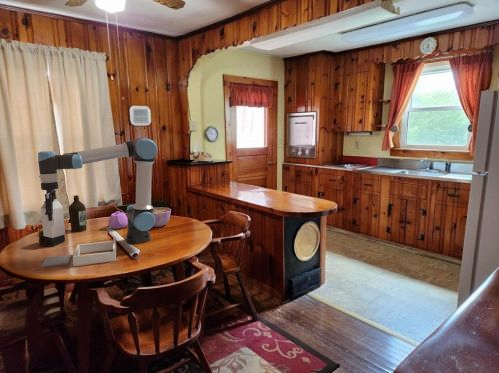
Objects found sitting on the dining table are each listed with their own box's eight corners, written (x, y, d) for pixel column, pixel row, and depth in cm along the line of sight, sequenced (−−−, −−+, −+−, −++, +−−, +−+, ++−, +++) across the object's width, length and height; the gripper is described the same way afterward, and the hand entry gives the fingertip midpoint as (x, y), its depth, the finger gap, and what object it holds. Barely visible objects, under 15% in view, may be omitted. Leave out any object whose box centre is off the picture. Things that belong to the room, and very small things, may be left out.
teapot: (110, 224, 239) (109, 209, 238) (129, 223, 243) (128, 208, 241) (107, 232, 221) (105, 216, 219) (127, 230, 224) (126, 214, 223)
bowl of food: (142, 223, 242) (141, 208, 240) (168, 220, 250) (168, 206, 248) (145, 230, 224) (144, 214, 222) (174, 227, 232) (173, 211, 231)
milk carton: (65, 234, 169) (62, 199, 166) (52, 238, 163) (48, 201, 160) (56, 232, 172) (53, 198, 169) (43, 236, 166) (39, 200, 163)
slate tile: (71, 256, 177) (71, 254, 177) (68, 264, 166) (68, 262, 166) (46, 259, 173) (46, 257, 173) (41, 267, 162) (41, 266, 162)
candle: (52, 247, 192) (51, 231, 190) (38, 246, 194) (36, 230, 192) (65, 241, 202) (64, 226, 200) (52, 240, 204) (50, 225, 202)
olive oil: (66, 232, 221) (63, 196, 217) (77, 227, 231) (74, 193, 227) (80, 233, 219) (77, 197, 215) (90, 228, 230) (87, 194, 225)
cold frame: (116, 248, 189) (115, 237, 188) (115, 260, 171) (114, 248, 170) (78, 253, 182) (77, 241, 181) (73, 266, 164) (72, 253, 163)
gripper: (45, 179, 172) (49, 219, 175) (35, 185, 151) (40, 230, 155) (61, 178, 175) (65, 218, 178) (53, 184, 154) (57, 229, 157)
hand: (53, 223), depth 166 cm, fingers closed on milk carton, 10 cm apart
